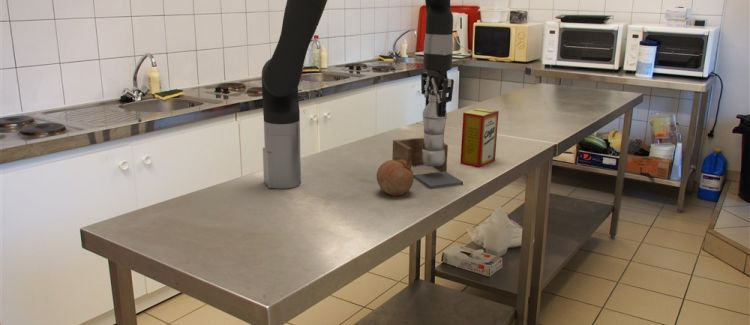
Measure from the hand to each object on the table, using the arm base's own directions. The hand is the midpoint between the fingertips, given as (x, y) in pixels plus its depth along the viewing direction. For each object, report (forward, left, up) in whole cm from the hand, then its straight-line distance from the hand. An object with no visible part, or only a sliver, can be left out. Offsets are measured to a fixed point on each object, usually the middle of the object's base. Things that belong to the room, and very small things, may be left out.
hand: (435, 113), depth 167 cm
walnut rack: (0, +8, -18) cm, 20 cm away
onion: (-15, -8, -18) cm, 25 cm away
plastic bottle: (0, 0, -15) cm, 15 cm away
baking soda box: (+20, +9, -18) cm, 28 cm away
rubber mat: (0, -3, -18) cm, 18 cm away
